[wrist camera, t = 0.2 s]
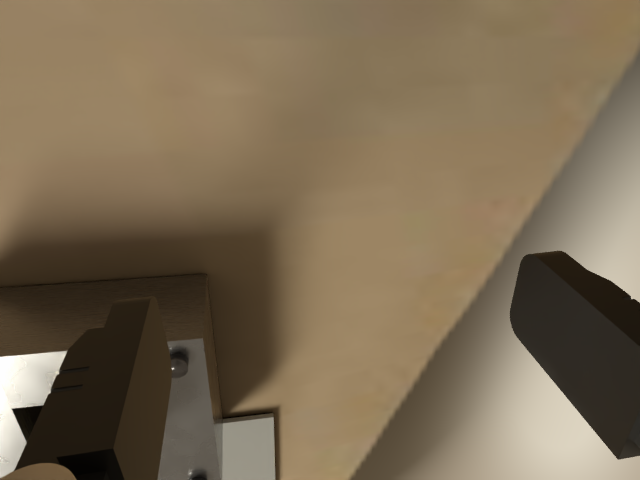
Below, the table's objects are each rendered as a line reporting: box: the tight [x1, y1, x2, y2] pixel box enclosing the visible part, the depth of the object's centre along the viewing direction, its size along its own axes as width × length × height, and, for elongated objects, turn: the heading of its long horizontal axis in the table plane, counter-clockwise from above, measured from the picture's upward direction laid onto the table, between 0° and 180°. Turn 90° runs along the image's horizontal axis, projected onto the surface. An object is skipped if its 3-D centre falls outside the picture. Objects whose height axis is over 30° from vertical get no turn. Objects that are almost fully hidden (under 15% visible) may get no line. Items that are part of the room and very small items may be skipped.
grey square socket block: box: [0, 274, 223, 480], centre depth 29 cm, size 14×14×7 cm
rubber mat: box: [222, 413, 275, 480], centre depth 39 cm, size 10×10×1 cm
